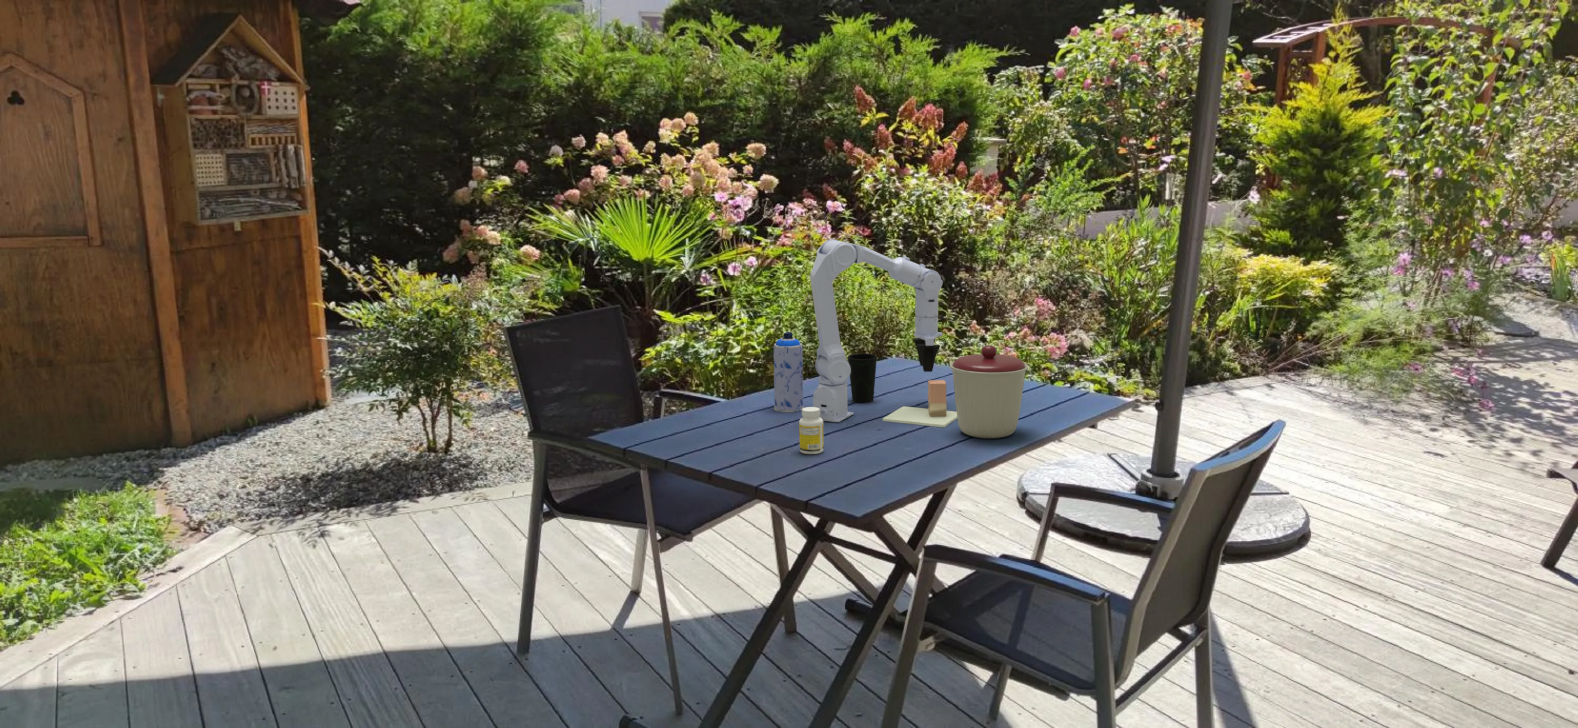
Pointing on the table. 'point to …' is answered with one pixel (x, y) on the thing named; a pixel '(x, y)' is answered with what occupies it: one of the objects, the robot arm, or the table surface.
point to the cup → (862, 376)
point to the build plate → (920, 417)
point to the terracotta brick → (936, 391)
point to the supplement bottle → (811, 431)
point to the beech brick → (937, 409)
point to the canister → (988, 393)
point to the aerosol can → (788, 374)
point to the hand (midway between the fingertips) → (926, 368)
